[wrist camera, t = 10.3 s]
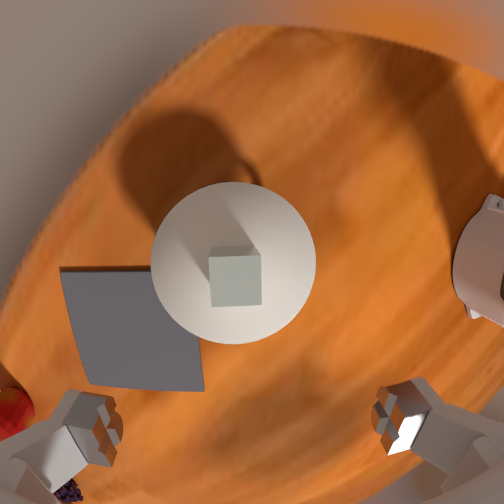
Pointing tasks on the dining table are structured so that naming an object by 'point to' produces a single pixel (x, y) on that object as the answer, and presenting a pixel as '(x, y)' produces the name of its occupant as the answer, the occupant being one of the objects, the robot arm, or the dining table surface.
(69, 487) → the fruit
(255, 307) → the lid
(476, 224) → the robot arm
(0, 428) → the apple
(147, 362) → the mat
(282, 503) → the dining table surface
